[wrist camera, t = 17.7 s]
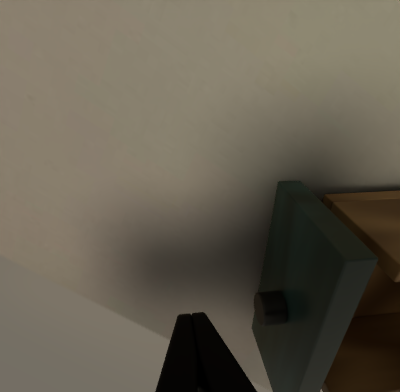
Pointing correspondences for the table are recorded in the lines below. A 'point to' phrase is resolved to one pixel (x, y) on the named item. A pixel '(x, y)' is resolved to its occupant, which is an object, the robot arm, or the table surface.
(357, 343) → the drawer
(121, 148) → the table surface
